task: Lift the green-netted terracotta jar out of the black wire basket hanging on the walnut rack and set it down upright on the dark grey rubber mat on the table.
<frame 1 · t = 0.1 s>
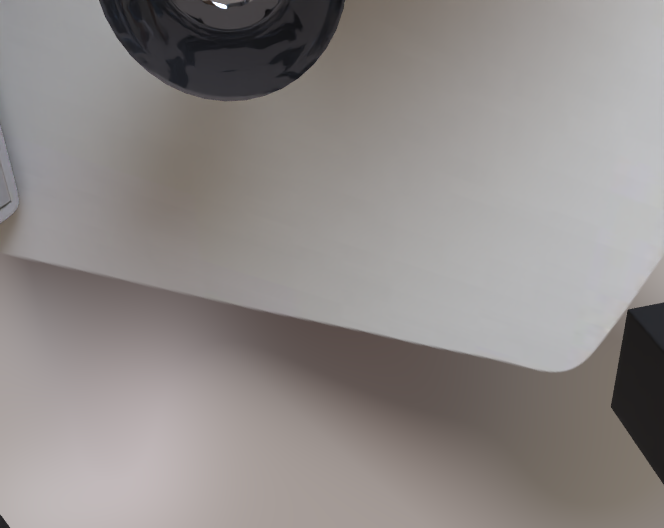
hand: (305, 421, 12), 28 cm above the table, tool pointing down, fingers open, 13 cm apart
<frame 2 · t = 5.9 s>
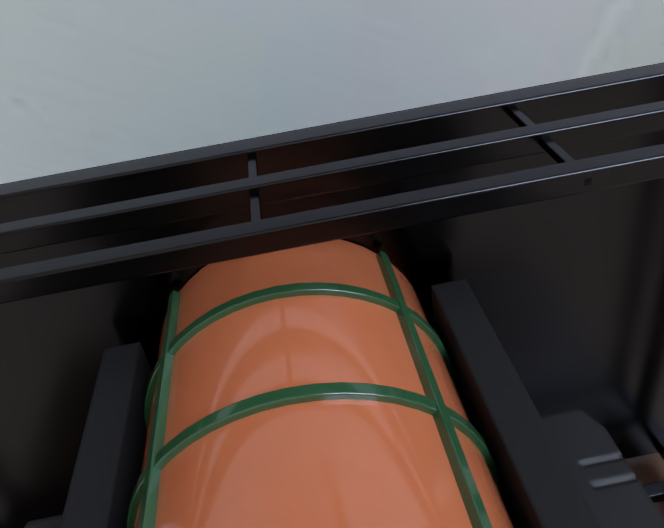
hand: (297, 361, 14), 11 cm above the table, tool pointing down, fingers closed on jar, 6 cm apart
jar: (295, 345, 14), point 11 cm above the table, touching basket, gripper
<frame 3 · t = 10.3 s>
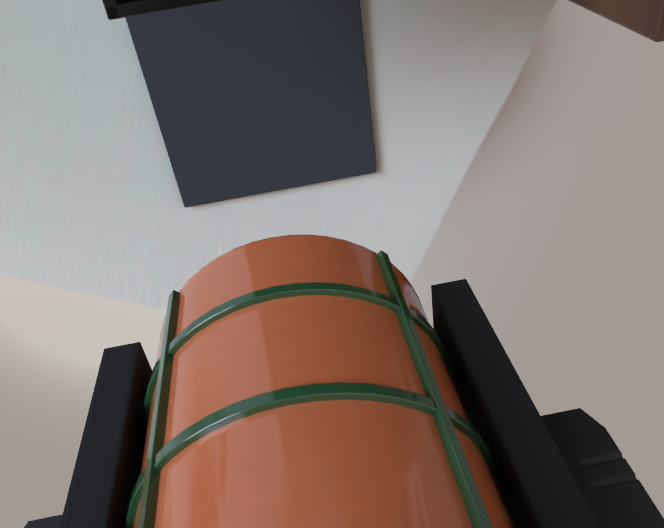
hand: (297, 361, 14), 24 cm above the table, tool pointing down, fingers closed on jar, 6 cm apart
mat: (261, 93, 35), on the table
jar: (295, 345, 14), point 24 cm above the table, touching gripper
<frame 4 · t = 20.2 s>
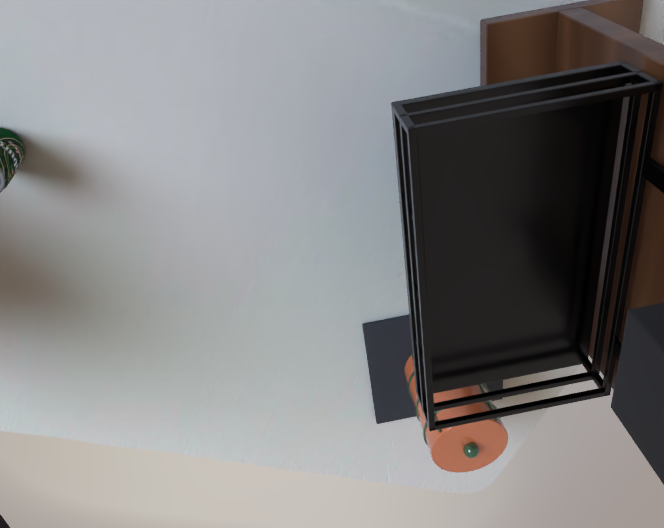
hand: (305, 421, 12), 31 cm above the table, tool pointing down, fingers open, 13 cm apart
beer can: (3, 146, 39), on the table
basket: (575, 316, 31), point 17 cm above the table
mat: (436, 362, 55), on the table
rack: (630, 240, 36), on the table
jar: (437, 365, 55), resting on mat
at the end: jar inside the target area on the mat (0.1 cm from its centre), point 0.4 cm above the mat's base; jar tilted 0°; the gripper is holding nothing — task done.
